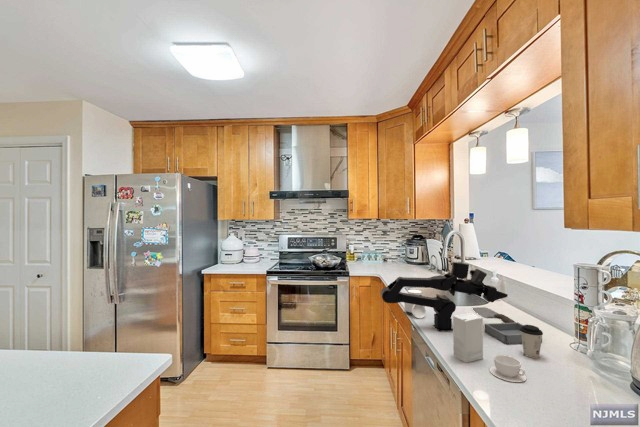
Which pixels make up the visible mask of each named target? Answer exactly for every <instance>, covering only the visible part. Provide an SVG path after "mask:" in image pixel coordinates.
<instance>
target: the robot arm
mask: <svg viewBox="0 0 640 427" xmlns="http://www.w3.org/2000/svg"><path fill="white" fill-rule="evenodd" d="M469 269H470V264H469V263H467V262H466V263H465V262H461V261H452V262H451V271H449V272H448V273H445V274H442V275H434V276H431V277H405V276H404V277H403V276H398V277H397V278H396V279H395V280H394V281H391V283H390V284H388V285H387V286H384V287H383V288H382V289H381V290H380V295H381V298H382V300H383V302H385V303H386V304H397V303H399V304H400V303H404V304H405V303H410V304H415V305H421V306H425V307H428V308H433V311H434V314H433V319H434V320H433V323H434V324H432V327H433V328H434V329H436V330H437V331H438V332H450V331H451V332H453V323H452V322H453V318H452V317H453V313H455V311H456V309H457V304H456V303H455V302H454V301H453V300H452V299H451V298H449V297H447V296H446V295H445V294H444V295H443V294H442V295H441V294H436V296H434V297H430V296H425V295H422V296H419V295H413V294H408V292H402V290H403V288H431V289H434V290H438V291H442V292H446V291H447V292H449V294H450V295H452V296H453V297H455V295H456V293H461V294H467V295H469V296H472V295H473V296H477V297H482V298H483V299H484V300H485V301H487V302H488V303H494V302H495V301H498V300H502V299H505V298H508V293H505V292H502V291H499V290H497V288H496V287H495V286H493V285H488V284H487V285H486V284H484V282H483V281H484V280H485V278H486V277H487V276H488V275H487V273H486V272H484V271H483V270H481V269H478V268H476V269H471V270H470V271H469ZM468 274H470V279H469V278H468Z"/></svg>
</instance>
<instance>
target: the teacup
mask: <svg viewBox="0 0 640 427" xmlns="http://www.w3.org/2000/svg"><path fill="white" fill-rule="evenodd" d="M493 362H494V363H493V364H494V365H492V366H490V367H489V368H488V369H489V373H491V375H493V376H495V377H496V378H499V379H500V380H504V381H507V382H513V383H522V382H525V381H527V376H526V371H525V369H524V368H523V367H522V362H521V361H520V359H517V358H515V357H514V356H509V355H505V354H496V355H494V356H493Z"/></svg>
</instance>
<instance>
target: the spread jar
mask: <svg viewBox="0 0 640 427" xmlns="http://www.w3.org/2000/svg"><path fill="white" fill-rule="evenodd" d="M407 293H408V294H413V295H419V296H423V295H422V294H423V293H422V290H418V289H408V290H407ZM404 310H405V312H406V314H408V315H410V316H413V317H415V318H417V319H422V318H424V317H425V316H426V311H427V310H426V306H421V305H415V304H410V303H404Z"/></svg>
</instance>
